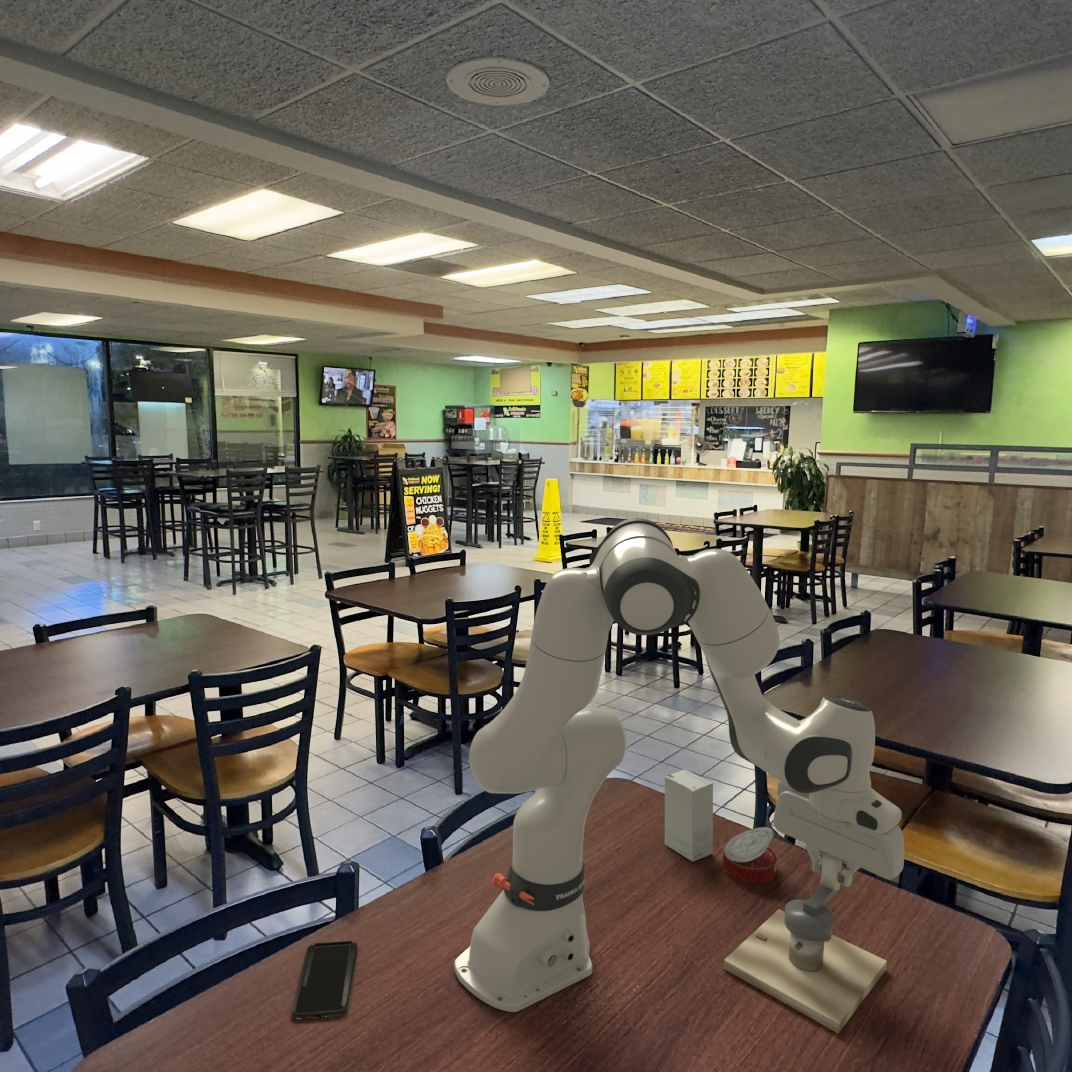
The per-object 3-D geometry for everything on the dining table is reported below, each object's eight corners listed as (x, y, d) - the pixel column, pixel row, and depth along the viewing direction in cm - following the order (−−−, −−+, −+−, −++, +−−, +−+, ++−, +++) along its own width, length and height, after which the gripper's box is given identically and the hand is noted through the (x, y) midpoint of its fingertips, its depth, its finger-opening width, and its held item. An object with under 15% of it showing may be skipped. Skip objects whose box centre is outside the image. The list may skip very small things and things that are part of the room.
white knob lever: (776, 926, 117) (779, 877, 116) (811, 890, 127) (814, 844, 126) (821, 947, 113) (825, 896, 112) (854, 908, 122) (858, 860, 121)
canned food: (759, 907, 142) (752, 875, 137) (715, 877, 149) (707, 846, 144) (793, 863, 147) (787, 830, 142) (748, 836, 154) (741, 804, 149)
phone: (358, 940, 122) (347, 1010, 108) (358, 946, 123) (347, 1017, 108) (307, 943, 121) (289, 1015, 107) (307, 950, 122) (289, 1022, 107)
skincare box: (713, 854, 150) (716, 783, 148) (691, 863, 147) (694, 791, 145) (682, 835, 157) (686, 767, 155) (661, 843, 154) (664, 774, 152)
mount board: (838, 1033, 106) (841, 988, 105) (723, 968, 118) (726, 927, 117) (886, 969, 119) (889, 928, 118) (778, 917, 131) (780, 879, 130)
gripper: (769, 779, 126) (763, 857, 128) (895, 828, 111) (887, 915, 113) (788, 768, 130) (782, 843, 132) (912, 814, 116) (904, 898, 118)
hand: (831, 877), depth 123 cm, fingers closed on white knob lever, 3 cm apart
